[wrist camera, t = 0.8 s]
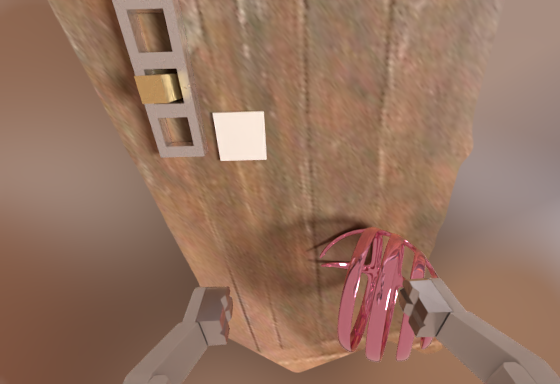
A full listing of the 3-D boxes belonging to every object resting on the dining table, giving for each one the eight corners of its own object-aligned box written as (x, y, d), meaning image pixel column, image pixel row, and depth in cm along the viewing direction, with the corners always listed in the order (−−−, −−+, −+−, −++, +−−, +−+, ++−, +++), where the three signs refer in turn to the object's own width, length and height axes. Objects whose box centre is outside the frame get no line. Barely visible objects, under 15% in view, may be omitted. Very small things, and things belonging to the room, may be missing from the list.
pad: (213, 112, 44) (212, 113, 44) (263, 110, 44) (263, 111, 44) (221, 159, 49) (220, 160, 49) (266, 158, 49) (266, 159, 49)
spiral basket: (288, 349, 52) (424, 435, 38) (288, 242, 45) (460, 297, 30) (333, 283, 75) (430, 321, 60) (338, 203, 67) (451, 224, 52)
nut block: (157, 73, 41) (133, 76, 34) (179, 73, 41) (159, 75, 34) (164, 97, 43) (142, 103, 36) (184, 96, 43) (167, 103, 36)
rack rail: (121, -4, 35) (109, -10, 33) (178, -6, 35) (170, -12, 33) (167, 152, 48) (160, 157, 46) (208, 151, 48) (204, 156, 46)
